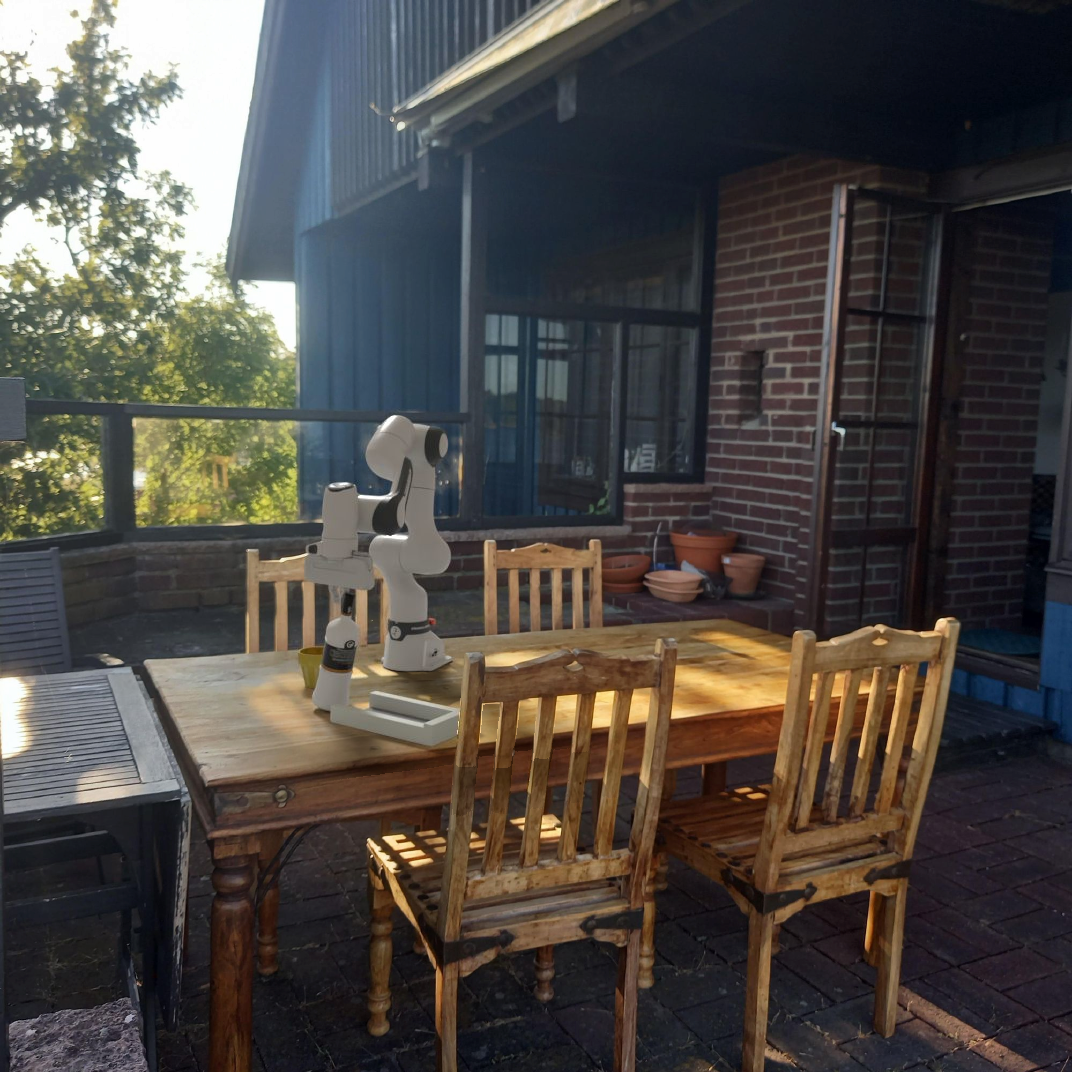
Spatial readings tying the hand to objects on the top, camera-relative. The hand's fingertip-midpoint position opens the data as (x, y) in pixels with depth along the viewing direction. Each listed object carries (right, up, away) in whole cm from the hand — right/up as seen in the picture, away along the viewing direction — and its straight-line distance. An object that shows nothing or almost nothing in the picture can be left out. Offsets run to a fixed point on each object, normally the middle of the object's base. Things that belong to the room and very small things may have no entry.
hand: (338, 603), depth 259 cm
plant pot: (-11, -24, +25) cm, 37 cm away
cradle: (+17, -29, -7) cm, 34 cm away
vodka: (-3, -26, +5) cm, 27 cm away
